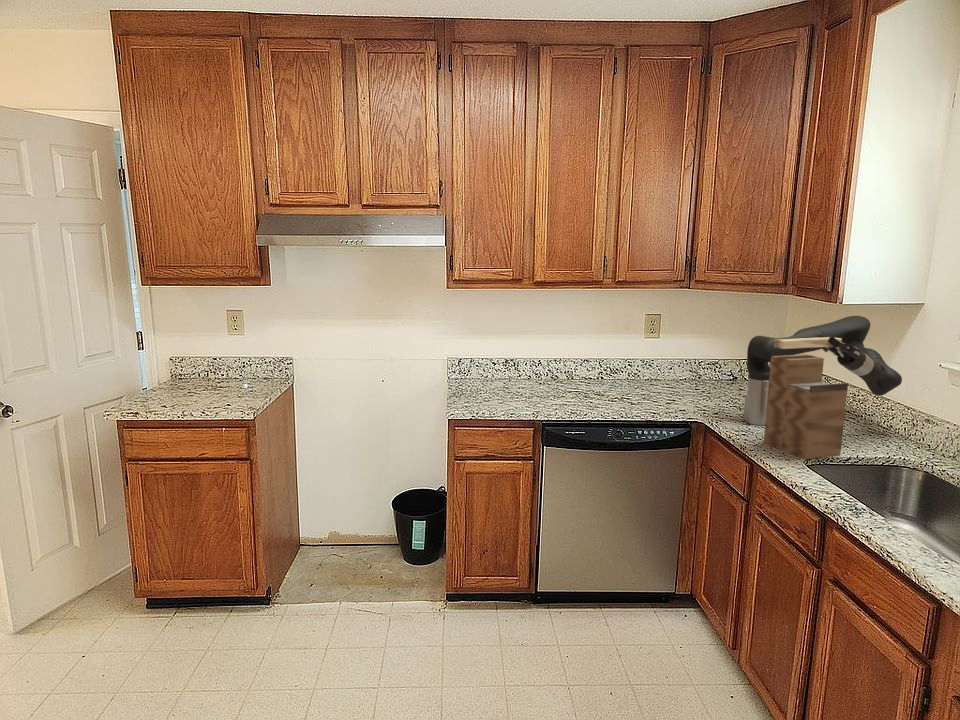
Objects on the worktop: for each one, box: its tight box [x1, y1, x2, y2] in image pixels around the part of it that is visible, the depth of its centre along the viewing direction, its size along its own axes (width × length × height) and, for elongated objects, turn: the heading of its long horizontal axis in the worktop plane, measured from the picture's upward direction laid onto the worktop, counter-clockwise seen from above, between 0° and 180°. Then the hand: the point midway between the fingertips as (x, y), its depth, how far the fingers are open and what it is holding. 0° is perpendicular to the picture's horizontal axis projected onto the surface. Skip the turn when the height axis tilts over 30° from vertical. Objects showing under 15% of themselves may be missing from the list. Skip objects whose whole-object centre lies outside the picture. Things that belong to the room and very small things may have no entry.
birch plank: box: [774, 337, 842, 349], centre depth 205 cm, size 4×24×2 cm, turn 107°
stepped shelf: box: [763, 353, 849, 460], centre depth 203 cm, size 18×14×30 cm
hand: (824, 338), depth 207 cm, fingers closed on birch plank, 4 cm apart
